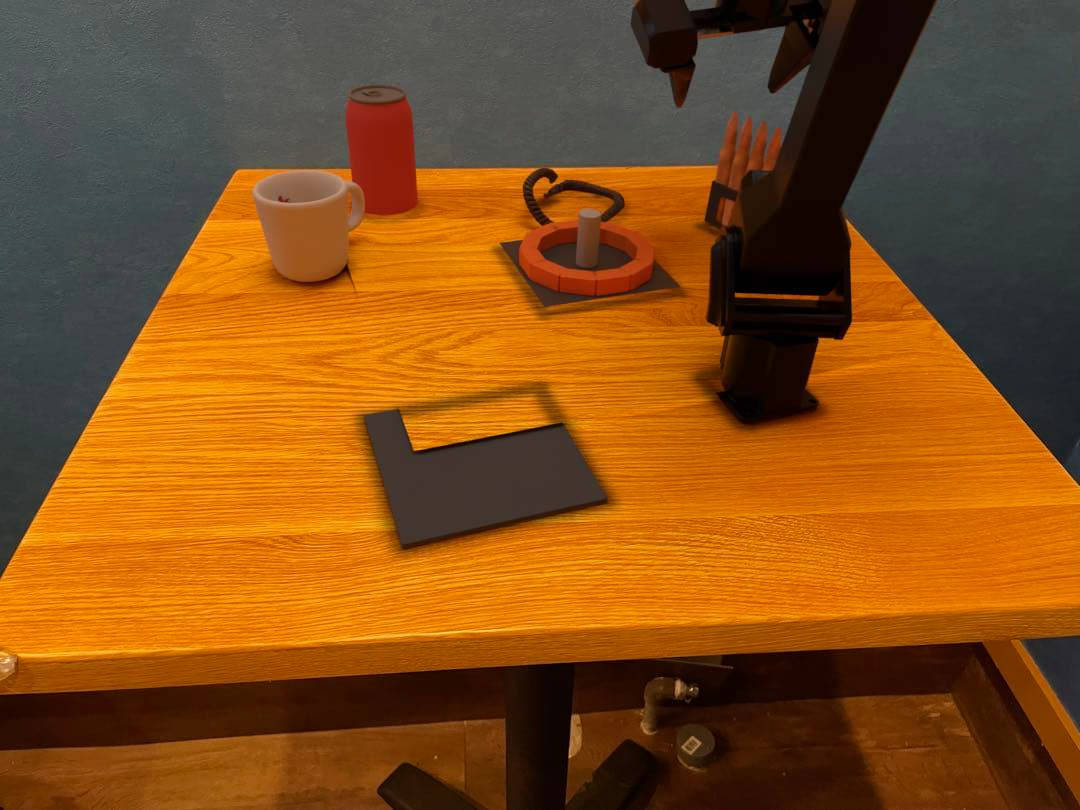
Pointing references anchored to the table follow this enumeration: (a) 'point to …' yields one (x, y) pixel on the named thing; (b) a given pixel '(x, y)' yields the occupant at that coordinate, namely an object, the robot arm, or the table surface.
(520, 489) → the mat
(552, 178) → the curled ridged horns
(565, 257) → the stake
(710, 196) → the ammunition clip
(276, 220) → the cup
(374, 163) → the beer can
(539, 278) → the ring
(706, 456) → the table surface
